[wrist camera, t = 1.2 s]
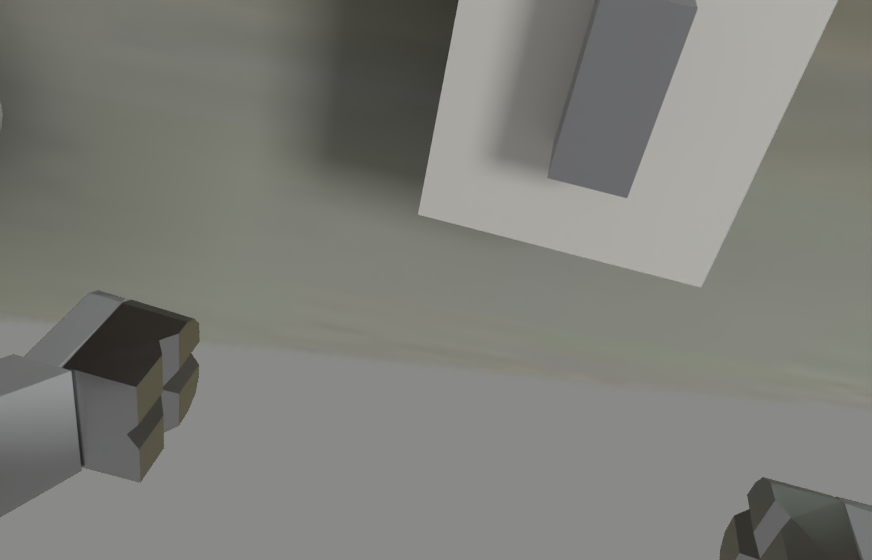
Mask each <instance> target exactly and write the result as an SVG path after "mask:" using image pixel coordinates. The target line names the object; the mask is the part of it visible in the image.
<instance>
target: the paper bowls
mask: <svg viewBox="0 0 872 560" xmlns="http://www.w3.org/2000/svg"><path fill="white" fill-rule="evenodd" d="M2 120H3V114H2V106H1V103H0V132H1V124H2ZM0 135H1V133H0Z"/></svg>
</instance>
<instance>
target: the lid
mask: <svg viewBox="0 0 872 560" xmlns="http://www.w3.org/2000/svg"><path fill="white" fill-rule="evenodd" d="M837 1H838V0H459V1H458V6H457V12H456V17H455V22H454V28H453V33H452V38H451V43H450V49H449V54H448V59H447V64H446V70H445V75H444V80H443V86H442V91H441V96H440V101H439V107H438V112H437V117H436V122H435V128H434V133H433V138H432V144H431V149H430V154H429V159H428V165H427V170H426V175H425V180H424V186H423V191H422V196H421V202H420V207H419V212H418V215H422V216H426V217H430V218H433V219H437V220H441V221H445V222H449V223H453V224H457V225H461V226H464V227H468V228H472V229H476V230H480V231H484V232H488V233H492V234H496V235H499V236H503V237H507V238H511V239H515V240H519V241H523V242H527V243H530V244H534V245H538V246H542V247H546V248H550V249H554V250H558V251H561V252H565V253H569V254H573V255H577V256H581V257H585V258H589V259H592V260H596V261H600V262H604V263H608V264H612V265H616V266H620V267H623V268H627V269H631V270H635V271H639V272H643V273H647V274H651V275H655V276H658V277H662V278H666V279H670V280H674V281H678V282H682V283H686V284H689V285H693V286H697V287H702V285H703V283H704V281H705V279H706V277H707V275H708V272H709V270H710V268H711V266H712V264H713V262H714V260H715V258H716V256H717V254H718V251H719V249H720V247H721V245H722V243H723V241H724V239H725V237H726V235H727V232H728V230H729V228H730V226H731V224H732V222H733V220H734V218H735V216H736V214H737V211H738V209H739V207H740V205H741V203H742V201H743V199H744V197H745V195H746V193H747V190H748V188H749V186H750V184H751V182H752V180H753V178H754V176H755V174H756V171H757V169H758V167H759V165H760V163H761V161H762V159H763V157H764V155H765V153H766V150H767V148H768V146H769V144H770V142H771V140H772V138H773V136H774V134H775V132H776V129H777V127H778V125H779V123H780V121H781V119H782V117H783V115H784V113H785V110H786V108H787V106H788V104H789V102H790V100H791V98H792V96H793V94H794V92H795V89H796V87H797V85H798V83H799V81H800V79H801V77H802V75H803V73H804V70H805V68H806V66H807V64H808V62H809V60H810V58H811V56H812V54H813V52H814V49H815V47H816V45H817V43H818V41H819V39H820V37H821V35H822V33H823V31H824V28H825V26H826V24H827V22H828V20H829V18H830V16H831V14H832V12H833V9H834V7H835V5H836V3H837Z"/></svg>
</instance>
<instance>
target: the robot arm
mask: <svg viewBox="0 0 872 560" xmlns="http://www.w3.org/2000/svg"><path fill="white" fill-rule="evenodd" d="M198 343H199V323H198V322H197V321H196V320H195V319H193V318H190V317H187V316H183V315H180V314H177V313H174V312H170V311H167V310H164V309H160V308H157V307H154V306H150V305H147V304H144V303H141V302H137V301H134V300H128V299H125V298H122V297H118V296H115V295H112V294H109V293H105V292H102V291H99V290H98V291H95V292H92V293H89V294H87V295H86V296H85V297H84V298H83V299H82V300H81V301H80V302H79V303H78V304H77V305H76V306H75V307H74V308H73V309H72V310H71V311H70V312H69V313H68V314H67V315H66V316H65V317H64V318H63V319H62V320H61V321H60V322H59V323H58V324H57V325H56V326H55V327H54V328H53V329H52V330H51V331H50V332H49V333H48V334H47V335H46V336H45V337H43V338H42V340H40V341H39V342H38V343H37V344H36V345H35V346H34V347H33V348H32V349H31V350H30V351H29V352H28V353H27V354H26V355H25V356H24V357H22V356H18V355H14V354H13V355H10V356H7V357H4V358H1V359H0V517H2V516H3V515H5V514H7V513H8V512H10V511H12V510H14V509H16V508H17V507H19V506H21V505H23V504H24V503H26V502H28V501H29V500H31V499H33V498H35V497H37V496H38V495H40V494H42V493H44V492H45V491H47V490H49V489H51V488H52V487H54V486H56V485H57V484H59V483H61V482H63V481H64V480H66V479H68V478H70V477H71V476H73V475H75V474H77V473H78V472H80V471H81V470H82V469H81V467H83V468H87V469H91V470H94V471H98V472H102V473H106V474H110V475H114V476H117V477H121V478H125V479H129V480H132V481H136V482H141V481H142V479H143V478H144V476H145V475H146V474H147V472H148V471H149V469H150V468H151V466H152V465H153V463H154V462H155V460H156V459H157V457H158V456H159V454H160V453H161V451H162V450H163V448H164V432H166V431H169V430H171V429H172V428H175V427H177V426H179V425H180V423H181V421H182V420H183V418H184V417H185V415H186V413H187V412H188V410H189V407H190V405H191V403H192V400H193V398H194V395H195V393H196V388H197V383H198V377H199V364H198V363H197V361H196V360H195V358H194V357H193V355H192V354H191V352H192V351H193V350H194V348H195V347H196V345H197V344H198ZM747 496H748V502H749V508H750V509H749V510H746V511H744V512H742V513H739V514H737V515H735V516H734V517H733V519H732V520H731V522H730V524H729V526H728V527H727V529H726V531H725V534H724V537H723V541H722V545H721V549H720V560H872V506H871V505H867V504H863V503H859V502H856V501H852V500H848V499H844V498H840V497H833V496H831V495H827V494H823V493H820V492H816V491H812V490H809V489H805V488H801V487H798V486H793V485H790V484H787V483H783V482H779V481H775V480H772V479H768V478H764V477H763V478H761V479H760V480H758V481H757V482H756V483H755V484H754V485H753V487H752V488H751V490H750V491H749V493H748V494H747Z"/></svg>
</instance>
